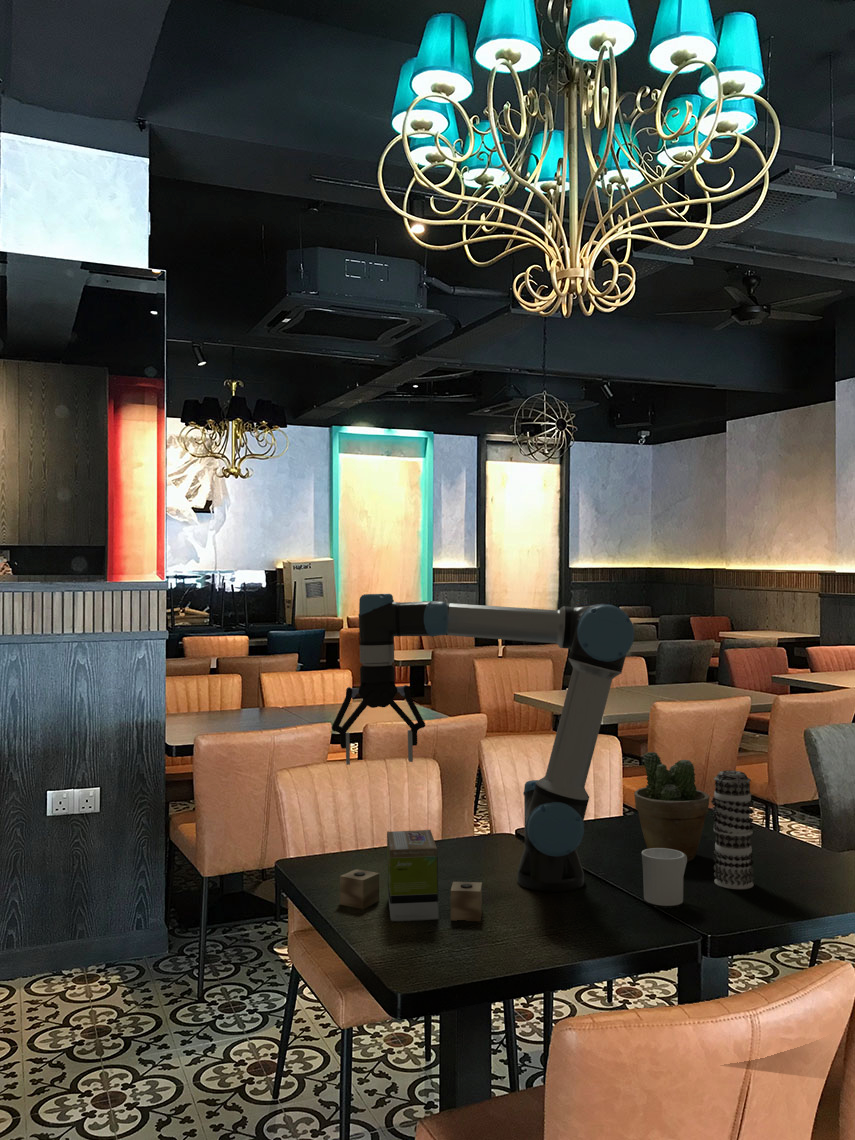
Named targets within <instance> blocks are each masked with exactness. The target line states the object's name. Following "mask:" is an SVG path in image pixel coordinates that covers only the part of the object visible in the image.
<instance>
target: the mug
mask: <svg viewBox="0 0 855 1140" xmlns="http://www.w3.org/2000/svg"><path fill="white" fill-rule="evenodd" d="M641 860H642V877H643V883H642V884H643V901H644V903H645V902H646V903H645V904H646V905H648V906H650V905H651V906H650V907H653V906H657V907H667V908H666V909H669V908H668V907H677V906H680V907H682V906H681V905H683V904H684V875H685V872H686V868H687V863H688V861H687V857H686V855H685V854H684V853H682V852H680V851H677V850H673V849H666V848H651V849H648V848H646V849H643V850H642V851H641ZM657 907H656V908H657ZM677 908H678V907H677Z"/></svg>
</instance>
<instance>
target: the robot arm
mask: <svg viewBox="0 0 855 1140" xmlns="http://www.w3.org/2000/svg"><path fill="white" fill-rule="evenodd" d="M358 603H359V604H358V607H359V608H358V627H359V628H358V630H359V635H358V636H359V663H360V664H362V665H361V666H360V668H359V673H360V674H359V676H360V677H359V679H360V680H359V681H360V682H359V683H360V686H359V687H358V688H354V687H353V688H352V687H351V686H348V687H347V688H346V690H345V698H344V700H343V702H342V704H341V706H340V708H339V710H338V712H337V714H336V716H335V719H334V720H333V723H332V725H331V729H332V732H336V733H338V734H339V735H340V736H339V737H340V738H339V739H340V748H341V749H343V750H345V763H346V766H347V765H350V766H351V752H350V751H351V750H350V748H351V747H350V746H351V745H350V743H351V742H350V732H347V731H348V730H350V728H351V726H352V725H353V724H354V722H355V721H356V720H357V719H358V718H359V716H361V714H362V713H363V712H364V710H365V709H366V708H368V707H369V708H371V709H373V708H374V709H375V708H386V707H389V706H390V707H391V708H392V709H393V710H394V711H395V712H396V713H397V714H398V715H399V717H400V718H401V720H403V722H405V724H406V725H407V726H408V727H409V728H410V729H407V757H408V758H407V759H408V762H409V763H412V762H414V756H413V755H414V754H413V753H414V751H413V750H414V749H413V746H418V731H419V730H420V729H424V728H425V727H426V723H425V721H424V719H423V717H422V715H421V713H420V711H419V710H418V708H417V706H416V704H415V701H413V697H411V690H410V687H409V685H407V684H403V686H396V680H395V679H396V678H395V677H396V676H395V675H396V671H395V666H394V664H393V663H394V662H395V640H394V639H395V637H399V638H400V637H437V636H439V637H440V636H450V637H463V638H465V637H466V638H476V639H477V638H479V639H493V640H505V641H506V640H507V641H519V642H531V643H532V642H533V643H544V644H545V643H547V644H556V645H557V646H558V647H559V648H560V649H567V650H568V649H569V650H570V651H569V655H568V659H567V660H568V661H569V663H570V665H571V667H572V671H571V672H572V673H571V675H570V678H569V683H568V687H567V691H566V695H565V699H564V703H563V705H562V710H561V713H560V719H559V722H558V725H557V730H556V734H555V738H554V741H553V745H552V749H551V753H550V757H549V761H548V765H547V768H546V773H545V776H543V777H541V778H540V779H535V780H527V781H526V782H525V783H524V789H523V792H522V793H523V794H522V795H523V797H524V798H523V799H524V805H523V806H524V808H523V809H524V849H523V852H522V855H521V858H520V862H519V865H518V868H517V870H516V871H517V872H516V873H517V874H516V876H517V878H516V880H517V883H518V884H519V885H520V886H522V887H524V888H527V889H530V890H534V891H539V892H547V893H548V892H552V893H553V892H554V893H556V892H568V891H575V890H577V889H580V888H582V887H583V886H584V885H585V872H584V870H583V866H582V863H581V860H580V856H579V854H578V851H577V848H578V847H579V846H580V844H581V842H582V840H583V837H584V833H585V823H584V820H585V816H586V813H587V812H586V811H587V808H588V804H589V800H590V796H589V793H588V792H587V790H586V788H585V787H586V784H587V779H588V776H589V775H588V774H589V772H590V767H591V763H592V760H593V757H594V756H593V755H594V753H595V747H596V743H597V740H598V736H599V733H600V729H601V725H602V721H603V718H604V717H603V716H604V714H605V713H604V712H605V709H606V705H607V702H608V697H609V693H610V690H611V686H612V682H613V679H614V678H616V677H618V676H620V675H621V674H622V673H623V668H624V664H625V661H626V657H627V654H628V653H629V651H630V650H631V648H632V646H633V643H634V640H635V629H634V624H633V622H632V620H631V619H630V617H629V615H628V614H627V613H626V612H625V611H624V609H621V608H620V607H619V606H615V605H613V604H607V603H598V604H597V603H596V604H591V605H590V604H589V605H581V606H565V605H563V606H562V607H560V608H559V609H557V610H556V609H546V608H545V609H544V608H529V607H528V608H527V607H515V606H513V607H512V606H501V605H500V606H499V605H498V606H497V605H480V604H470V603H469V604H467V603H453V602H449V603H448V602H445V601H436V600H430V601H429V600H423V601H413V602H412V601H409V602H400V601H399V602H398V601H395V600H394V596H393V594H392V593H366V594H362V595H361V596H360V597H359V602H358ZM397 693H399V694H400V696H402V697H404V699H405V701H406V702H407V705H408V707H409V708H410V711H411V712H412V714H413V717H414V718H415V721H416V723H415V722H413V720H411V718H410V717H409V716H408V714H406V712H404V711H403V709H402V708H401V706H399V705H398V704H397V702H395V700H394V699H395V697H396V695H397ZM356 695H359V696H360V698H361V699H362V700H361V702H360V703H359V704H358V706H356V708H355V709H354V711H353V712H352V714H350V716H349V717H348V719H346V720H345V722H344V723H343V725H341V723H342V721H343V718H344V717H345V714H346V712H347V710H348V707H350V703H351V701H352V699H354V698H355V697H356Z"/></svg>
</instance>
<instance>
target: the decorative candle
mask: <svg viewBox="0 0 855 1140" xmlns="http://www.w3.org/2000/svg"><path fill="white" fill-rule="evenodd" d="M713 779H714V787H715V789H714V794H713V797H712V798H711V801H710V802H711V803H712V805H713V807H712V809H711V811H712V813H713V815H712V816H711V818H712V820H713V821H714V822H713V824H712V827H713V832H714V833H715V843H714V849H715V850H714V851H713V855H714V856H715V857H714V858H713V861H714V863H715V864H714V866H713V870H714V871H715V872H714V873H713V876H714V877H715V879H714V881H713V882H714V884H715V885H717V886H718V887H722V888H725V889H730V890H731V889H732V890H748V889H751V888H753V887H754V885H755V884H754V882H753V880H755V879H754V878H755V877H754V875H753V873H754V871H755V870H754V869H753V868H754V867H752V866H753V865H754V861H753V858H754V853H752V851H753V850H752V849H753V848H752V844H751V842H752V841H751V840H752V839H751V835H752V834H753V829H754V826H753V825H752V824H751V823H753V822H754V819H753V818H752V817H751V816H750V815H752V814H754V813H755V810H754V809H752V807H754V806H755V804H754V803H753V802H752V801H751V800H752V793H751V781H752V780H751V778H748V776H747V774H746V773H745V772H744V771H739V770H730V769H729V770H728V769H727V770H722V771H719V772H718V773H717V775H716V776H715V777H713Z"/></svg>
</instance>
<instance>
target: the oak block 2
mask: <svg viewBox="0 0 855 1140" xmlns="http://www.w3.org/2000/svg"><path fill="white" fill-rule="evenodd" d="M482 913H483V882H475V881H474V882H473V881H471V882H470V881H452V885H451V888H450V921H457V920H466V921H465V922H482Z"/></svg>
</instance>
